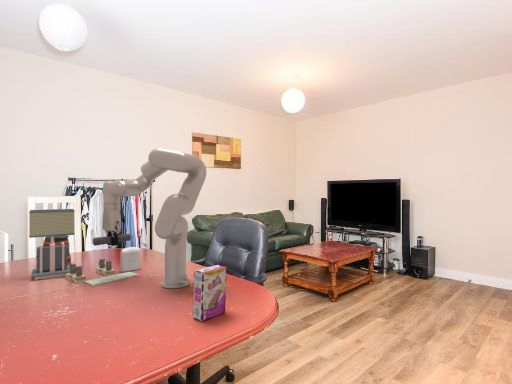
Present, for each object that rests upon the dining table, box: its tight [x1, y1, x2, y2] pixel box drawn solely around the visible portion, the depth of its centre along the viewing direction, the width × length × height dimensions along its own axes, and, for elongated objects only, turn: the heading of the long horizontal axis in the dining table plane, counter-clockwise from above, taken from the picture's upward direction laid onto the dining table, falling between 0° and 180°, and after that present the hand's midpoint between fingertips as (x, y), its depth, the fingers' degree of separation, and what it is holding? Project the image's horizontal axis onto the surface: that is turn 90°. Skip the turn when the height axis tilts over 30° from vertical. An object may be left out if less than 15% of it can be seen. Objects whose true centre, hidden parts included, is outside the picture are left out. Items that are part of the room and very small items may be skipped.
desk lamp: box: [28, 208, 75, 281], centre depth 156 cm, size 18×14×33 cm
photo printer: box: [119, 246, 141, 273], centre depth 166 cm, size 10×4×12 cm, turn 134°
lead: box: [92, 233, 132, 247], centre depth 150 cm, size 17×4×4 cm, turn 141°
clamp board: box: [65, 258, 116, 284], centre depth 153 cm, size 12×18×7 cm, turn 141°
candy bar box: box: [192, 264, 227, 323], centre depth 107 cm, size 11×5×16 cm, turn 141°
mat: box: [84, 271, 139, 287], centre depth 150 cm, size 8×22×1 cm, turn 141°
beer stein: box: [42, 235, 72, 266], centre depth 179 cm, size 19×15×20 cm
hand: (112, 244), depth 150 cm, fingers closed on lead, 3 cm apart
